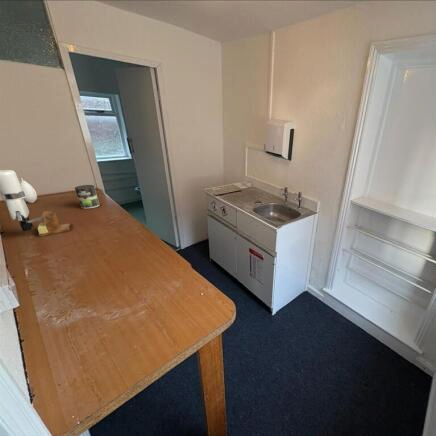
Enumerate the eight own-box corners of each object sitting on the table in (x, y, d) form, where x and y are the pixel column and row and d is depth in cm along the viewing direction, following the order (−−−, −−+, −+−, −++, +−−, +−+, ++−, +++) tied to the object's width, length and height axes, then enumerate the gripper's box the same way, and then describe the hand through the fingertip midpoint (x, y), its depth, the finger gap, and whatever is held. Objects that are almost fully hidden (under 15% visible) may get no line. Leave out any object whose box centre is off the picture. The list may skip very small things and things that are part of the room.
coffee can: (97, 207, 161) (91, 188, 155) (78, 209, 157) (71, 189, 151) (101, 203, 169) (96, 184, 164) (84, 204, 165) (77, 185, 160)
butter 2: (39, 233, 122) (37, 228, 121) (40, 231, 124) (38, 226, 123) (47, 232, 123) (45, 227, 122) (48, 229, 126) (46, 225, 125)
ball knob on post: (22, 228, 119) (17, 223, 117) (23, 226, 121) (18, 221, 119) (54, 217, 125) (50, 212, 124) (54, 216, 127) (51, 211, 126)
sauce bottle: (24, 201, 165) (13, 177, 158) (39, 199, 170) (30, 175, 163) (23, 204, 160) (12, 179, 153) (39, 202, 165) (29, 177, 158)
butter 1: (40, 230, 125) (38, 225, 124) (41, 228, 127) (39, 223, 126) (48, 229, 127) (46, 224, 126) (49, 227, 129) (47, 222, 128)
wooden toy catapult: (39, 236, 122) (30, 217, 117) (41, 230, 128) (33, 212, 124) (69, 230, 129) (63, 212, 125) (70, 225, 135) (63, 207, 131)
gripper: (5, 192, 118) (20, 225, 125) (-3, 201, 106) (14, 236, 113) (27, 190, 122) (40, 222, 129) (21, 198, 111) (36, 233, 118)
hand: (28, 228), depth 121 cm, fingers closed on ball knob on post, 3 cm apart
